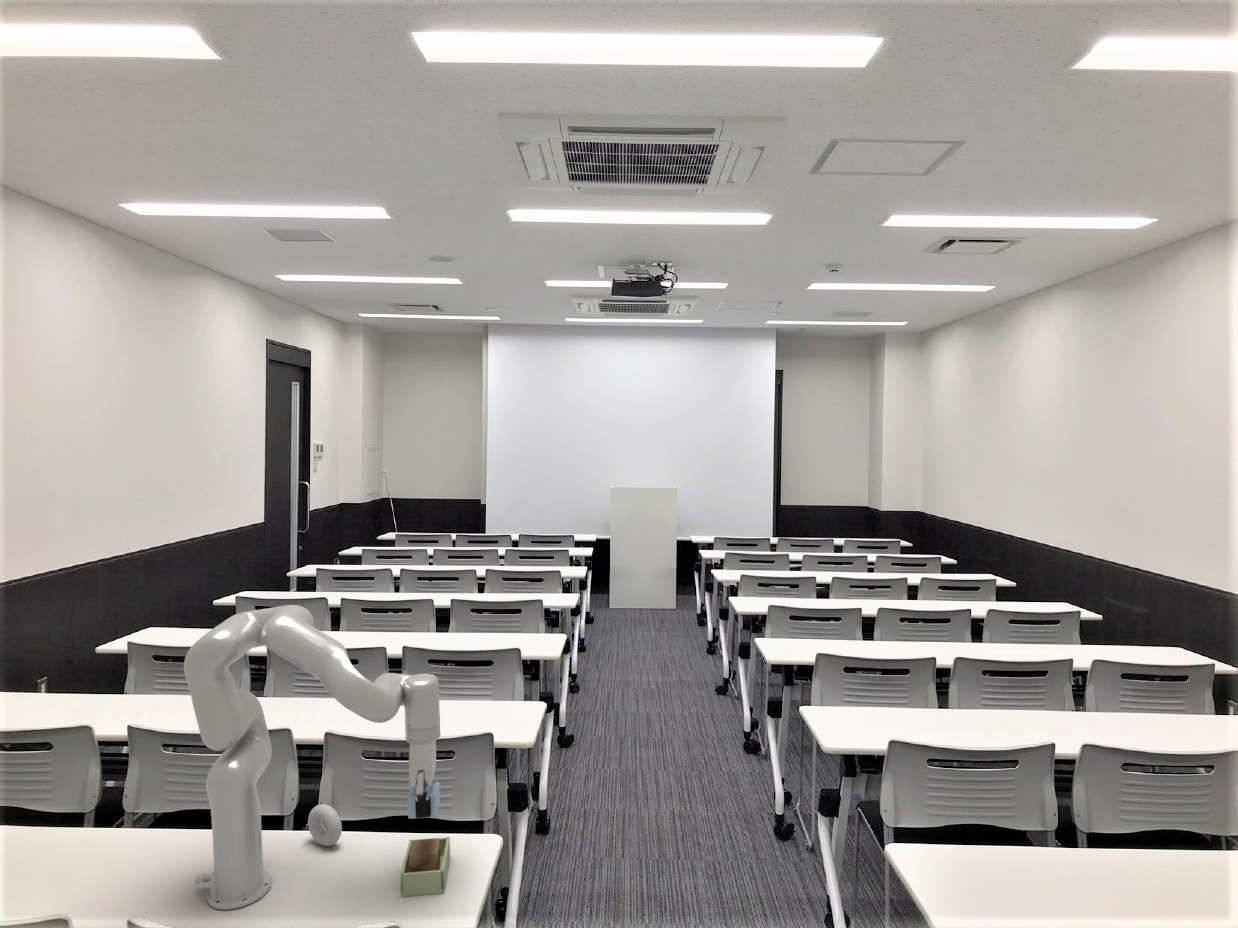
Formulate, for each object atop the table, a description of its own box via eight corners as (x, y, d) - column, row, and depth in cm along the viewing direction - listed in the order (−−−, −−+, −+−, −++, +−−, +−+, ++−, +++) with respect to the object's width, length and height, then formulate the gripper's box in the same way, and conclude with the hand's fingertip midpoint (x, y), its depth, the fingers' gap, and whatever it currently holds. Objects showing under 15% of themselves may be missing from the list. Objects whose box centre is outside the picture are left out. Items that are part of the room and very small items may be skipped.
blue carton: (408, 818, 164) (407, 796, 164) (413, 804, 170) (412, 783, 170) (436, 816, 165) (435, 795, 165) (440, 802, 171) (439, 781, 171)
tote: (400, 896, 162) (400, 874, 161) (410, 860, 175) (409, 839, 174) (444, 892, 163) (443, 871, 162) (450, 857, 176) (449, 836, 176)
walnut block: (409, 881, 165) (409, 855, 165) (413, 864, 171) (413, 839, 171) (437, 879, 166) (436, 853, 166) (440, 862, 172) (439, 837, 172)
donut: (305, 842, 182) (304, 803, 181) (317, 835, 185) (315, 796, 184) (334, 853, 177) (332, 813, 177) (345, 846, 181) (344, 806, 180)
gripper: (411, 716, 174) (414, 790, 176) (399, 749, 157) (402, 831, 159) (444, 714, 175) (446, 787, 177) (435, 746, 158) (438, 828, 160)
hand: (425, 807), depth 168 cm, fingers closed on blue carton, 6 cm apart
